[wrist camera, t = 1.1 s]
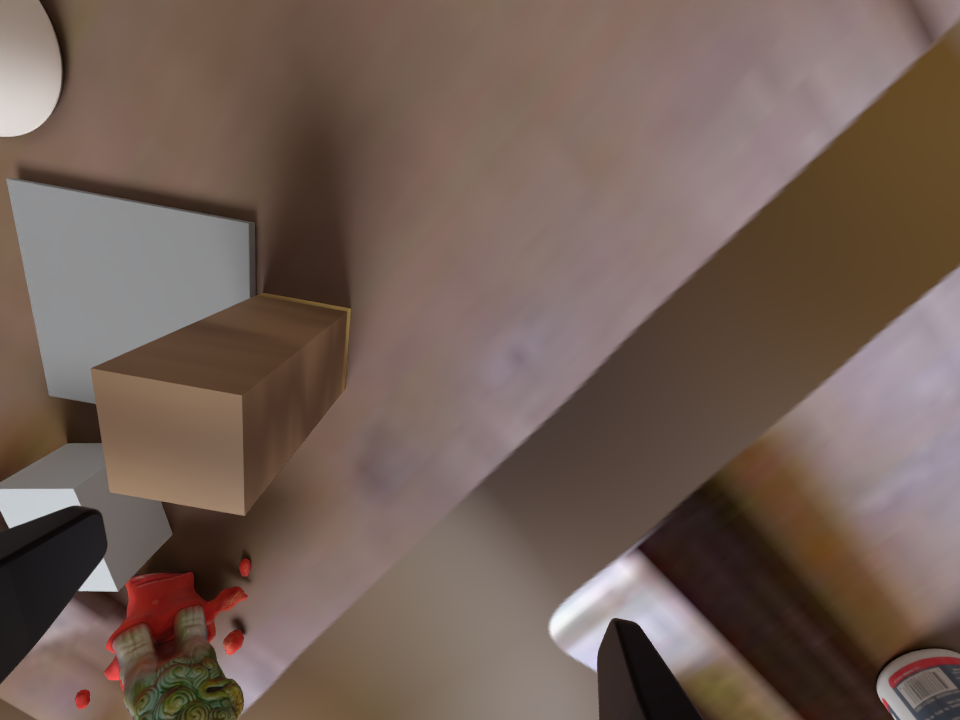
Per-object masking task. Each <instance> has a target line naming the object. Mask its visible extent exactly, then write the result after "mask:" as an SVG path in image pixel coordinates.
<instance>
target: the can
mask: <svg viewBox="0 0 960 720" xmlns="http://www.w3.org/2000/svg"><path fill="white" fill-rule="evenodd" d="M63 77H64V69H63V58H62V53H61V48H60V44H59V41H58V38H57V35H56V32H55V30H54V27H53V25H52V23H51V21H50V19H49V17H48V15H47V13H46V11H45V9H44V8H43V6H42V5H41V3H40V1H39V0H0V137H12V136H19V135H23V134H26V133H29V132H31V131H33V130H35V129H36V128H38V127H39V126H40V125H41V124H43V123H44V122H45V121H46V119H47V118H48V117H49V116H50V114H51V113H52V111H53V110H54V108H55V107H56V105H57V103H58V100H59V98H60V95H61V91H62V86H63Z"/></svg>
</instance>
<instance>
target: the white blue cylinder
mask: <svg viewBox="0 0 960 720" xmlns="http://www.w3.org/2000/svg"><path fill="white" fill-rule="evenodd" d="M877 693H878V696H879V698H880V700H881V701H882V703H883V704H884V705H885V707H886V708H887V710H888V711H889V712H890V714H891V715H892V716H893V718H894V719H895V720H960V654H959V653H956V652H954V651H950V650H945V649H923V650H918V651H914V652H910V653H907V654H905V655H902V656H900V657H898V658H897V659H895V660H893V661H892V662H891V663H889V664H888V665H887V666H886V667H885V668H884V669H883V670H882V672H881V673H880V675H879V677H878V680H877Z"/></svg>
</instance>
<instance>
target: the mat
mask: <svg viewBox="0 0 960 720" xmlns="http://www.w3.org/2000/svg"><path fill="white" fill-rule="evenodd" d="M7 184H8V190H9V195H10V200H11V205H12V210H13V215H14V220H15V225H16V230H17V235H18V240H19V245H20V250H21V255H22V261H23V266H24V271H25V276H26V281H27V286H28V291H29V296H30V301H31V306H32V311H33V316H34V321H35V326H36V332H37V337H38V342H39V347H40V352H41V357H42V362H43V367H44V372H45V377H46V382H47V387H48V392H49V396H53V397H59V398H65V399H70V400H76V401H81V402H87V403H93V404H96V401H95V394H94V388H93V382H92V375H91V369H90V368H92V367H95V366H97V365H99V364H101V363H104V362H106V361H108V360H111V359H113V358H115V357H117V356H120V355H122V354H124V353H126V352H129V351H131V350H133V349H136V348H138V347H140V346H142V345H145V344H147V343H149V342H151V341H154V340H156V339H158V338H161V337H163V336H165V335H167V334H170V333H172V332H174V331H176V330H179V329H181V328H183V327H185V326H188V325H190V324H192V323H195V322H197V321H199V320H201V319H204V318H206V317H208V316H210V315H213V314H215V313H217V312H220V311H222V310H224V309H226V308H229V307H231V306H233V305H235V304H238V303H240V302H242V301H245V300H247V299H249V298H251V297H254V296H256V280H255V222H250V221H244V220H239V219H233V218H228V217H223V216H217V215H212V214H206V213H201V212H195V211H190V210H185V209H179V208H174V207H168V206H163V205H157V204H152V203H147V202H141V201H136V200H130V199H125V198H119V197H114V196H109V195H103V194H98V193H92V192H87V191H81V190H76V189H71V188H65V187H60V186H54V185H49V184H43V183H38V182H33V181H27V180H22V179H7Z"/></svg>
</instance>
